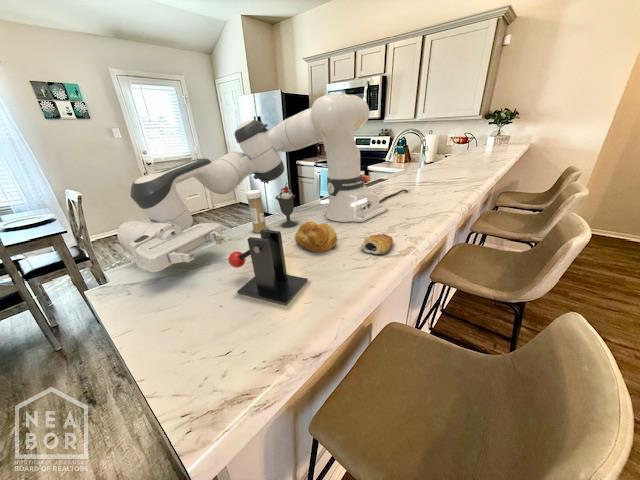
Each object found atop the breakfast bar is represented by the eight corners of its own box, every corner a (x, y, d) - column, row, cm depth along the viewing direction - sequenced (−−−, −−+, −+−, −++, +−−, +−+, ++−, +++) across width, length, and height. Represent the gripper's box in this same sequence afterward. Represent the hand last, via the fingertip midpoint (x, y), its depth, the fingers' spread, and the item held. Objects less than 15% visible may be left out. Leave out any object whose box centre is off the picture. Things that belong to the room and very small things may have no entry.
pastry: (377, 238, 76) (377, 226, 74) (399, 244, 72) (399, 231, 70) (359, 251, 70) (358, 238, 68) (381, 258, 66) (382, 244, 64)
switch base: (238, 295, 55) (224, 240, 50) (263, 274, 63) (253, 224, 57) (286, 308, 50) (277, 248, 45) (308, 283, 58) (302, 229, 52)
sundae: (293, 228, 88) (288, 184, 82) (276, 227, 90) (269, 183, 84) (301, 221, 93) (297, 179, 87) (285, 220, 96) (279, 179, 89)
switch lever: (231, 272, 57) (222, 259, 57) (242, 264, 60) (233, 251, 60) (270, 252, 50) (259, 236, 49) (280, 244, 53) (270, 229, 52)
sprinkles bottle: (269, 230, 88) (262, 191, 82) (256, 234, 86) (248, 193, 80) (263, 226, 91) (257, 188, 86) (251, 230, 89) (243, 191, 84)
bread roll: (288, 246, 76) (284, 220, 72) (313, 235, 82) (310, 210, 78) (319, 260, 67) (316, 231, 64) (344, 246, 73) (343, 219, 70)
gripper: (203, 236, 76) (240, 241, 70) (132, 272, 59) (173, 283, 53) (197, 215, 73) (235, 219, 67) (121, 247, 56) (164, 256, 51)
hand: (207, 248), depth 60 cm, fingers open, 8 cm apart
